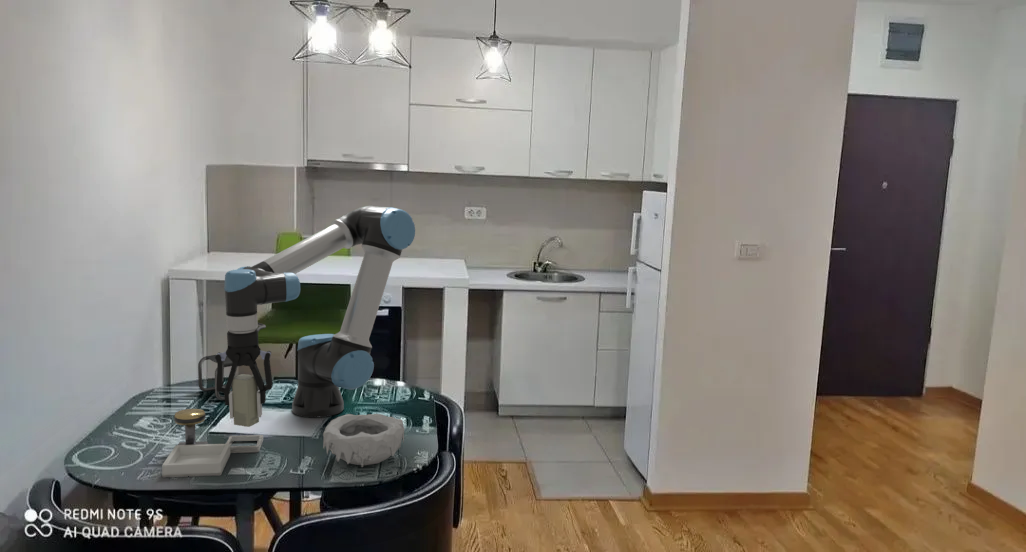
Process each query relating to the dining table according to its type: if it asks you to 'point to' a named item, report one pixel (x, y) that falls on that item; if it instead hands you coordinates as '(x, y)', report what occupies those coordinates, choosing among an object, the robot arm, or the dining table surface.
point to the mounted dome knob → (190, 424)
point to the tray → (196, 460)
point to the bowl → (363, 438)
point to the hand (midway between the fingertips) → (246, 415)
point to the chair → (226, 364)
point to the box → (245, 400)
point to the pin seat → (245, 448)
